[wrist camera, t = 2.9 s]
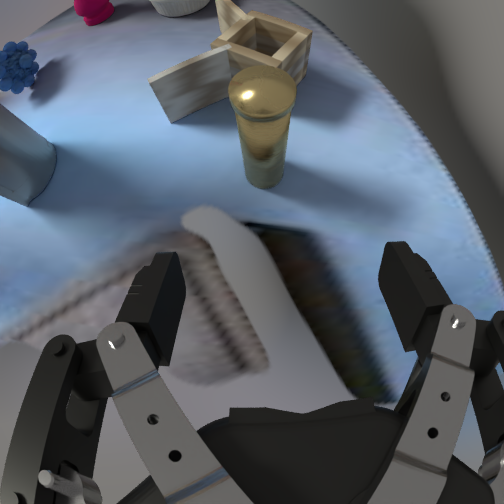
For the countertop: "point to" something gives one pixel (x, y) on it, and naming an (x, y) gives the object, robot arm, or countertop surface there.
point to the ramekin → (178, 7)
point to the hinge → (232, 59)
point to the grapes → (17, 67)
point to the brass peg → (263, 120)
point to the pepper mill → (93, 10)
